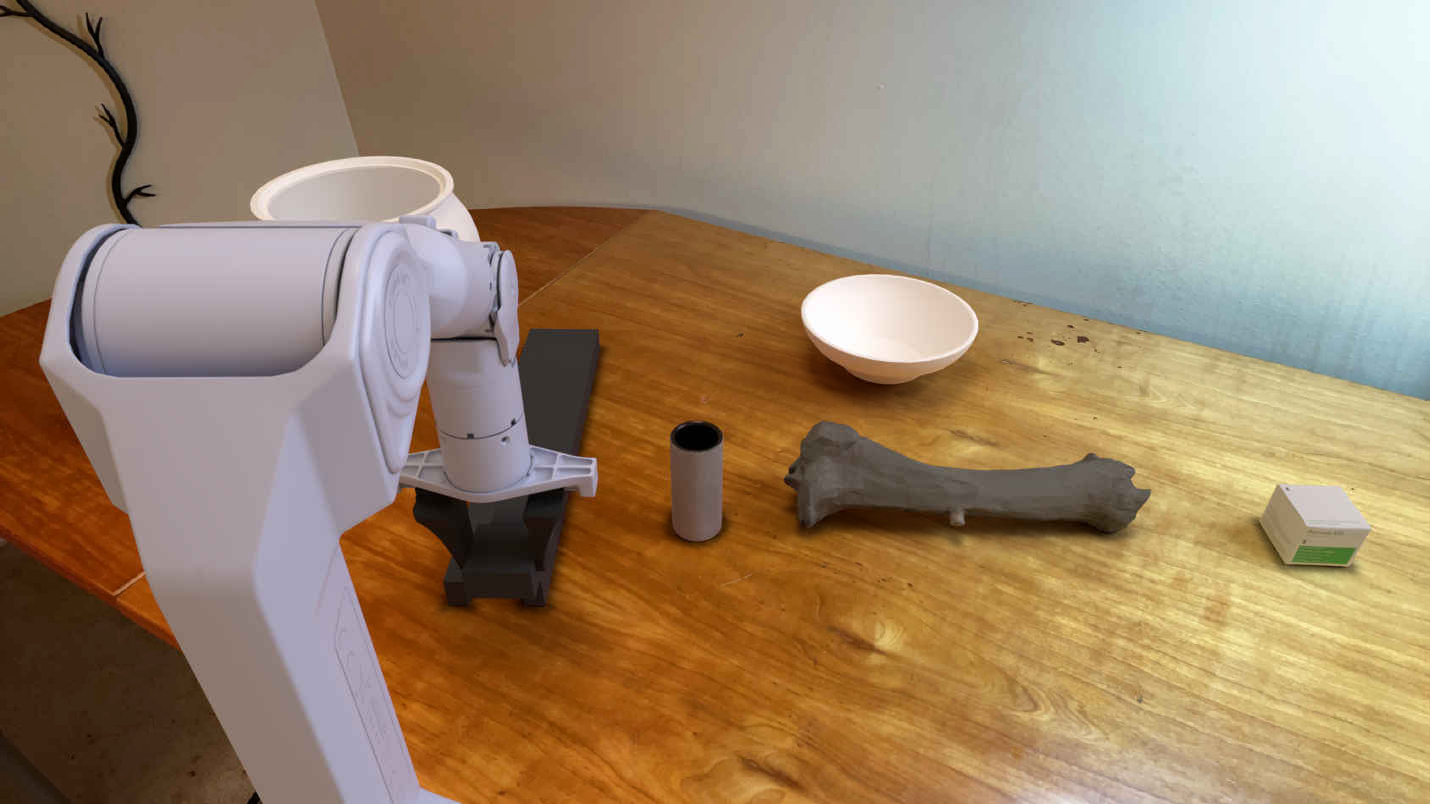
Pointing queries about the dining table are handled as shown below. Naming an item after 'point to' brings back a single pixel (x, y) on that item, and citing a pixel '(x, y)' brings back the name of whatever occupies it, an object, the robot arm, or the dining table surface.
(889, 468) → the bone
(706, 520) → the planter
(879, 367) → the bowl
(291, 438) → the robot arm
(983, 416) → the dining table surface
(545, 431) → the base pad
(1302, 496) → the small box
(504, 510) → the pad
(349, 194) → the pot
